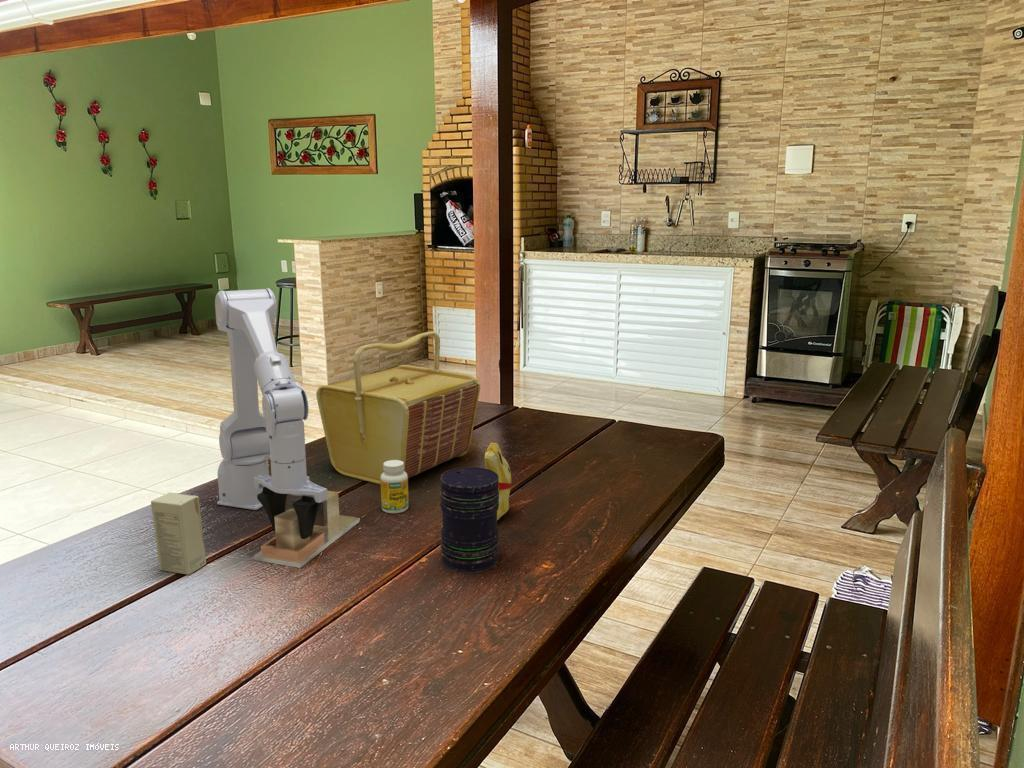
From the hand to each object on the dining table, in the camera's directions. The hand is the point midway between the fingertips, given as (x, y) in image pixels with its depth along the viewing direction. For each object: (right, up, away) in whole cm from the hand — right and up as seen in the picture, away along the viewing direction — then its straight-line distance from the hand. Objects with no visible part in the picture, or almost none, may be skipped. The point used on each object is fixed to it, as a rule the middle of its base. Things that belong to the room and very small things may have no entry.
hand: (292, 533), depth 131 cm
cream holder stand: (+2, -2, +5) cm, 6 cm away
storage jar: (+31, -4, -2) cm, 31 cm away
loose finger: (0, -3, +1) cm, 3 cm away
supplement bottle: (+15, +1, +20) cm, 25 cm away
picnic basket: (+12, +7, +45) cm, 47 cm away
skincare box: (-17, -5, -5) cm, 18 cm away
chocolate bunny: (+34, 0, +17) cm, 38 cm away
